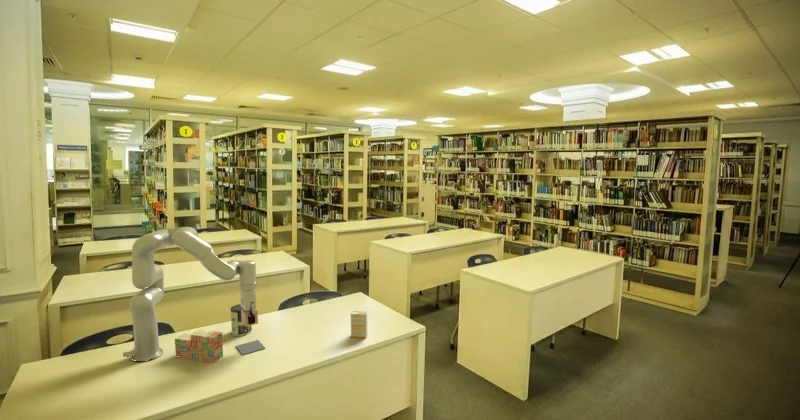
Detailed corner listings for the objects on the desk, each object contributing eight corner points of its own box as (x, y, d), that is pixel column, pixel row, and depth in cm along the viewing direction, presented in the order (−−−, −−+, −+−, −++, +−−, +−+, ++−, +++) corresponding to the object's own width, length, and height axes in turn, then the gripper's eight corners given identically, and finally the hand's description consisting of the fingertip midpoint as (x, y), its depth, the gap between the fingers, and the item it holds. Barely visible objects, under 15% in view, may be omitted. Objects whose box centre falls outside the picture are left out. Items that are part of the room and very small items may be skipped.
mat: (242, 355, 181) (242, 354, 181) (235, 346, 190) (235, 345, 190) (265, 348, 188) (265, 347, 188) (258, 340, 197) (258, 339, 197)
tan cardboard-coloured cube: (245, 326, 183) (244, 312, 183) (241, 322, 188) (241, 309, 187) (258, 323, 187) (257, 309, 186) (254, 319, 192) (253, 306, 191)
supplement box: (367, 334, 205) (367, 310, 204) (365, 338, 201) (365, 314, 199) (352, 333, 206) (352, 310, 205) (350, 337, 201) (350, 313, 200)
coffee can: (255, 328, 212) (254, 303, 210) (247, 336, 202) (246, 310, 200) (236, 327, 212) (235, 303, 211) (228, 336, 202) (226, 310, 200)
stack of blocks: (175, 357, 179) (173, 332, 178) (185, 351, 185) (184, 327, 184) (214, 363, 174) (213, 337, 173) (223, 356, 180) (222, 331, 179)
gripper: (235, 283, 190) (236, 317, 192) (245, 292, 176) (247, 329, 179) (250, 280, 195) (251, 314, 197) (261, 288, 181) (263, 325, 183)
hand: (249, 321), depth 188 cm, fingers closed on tan cardboard-coloured cube, 6 cm apart
